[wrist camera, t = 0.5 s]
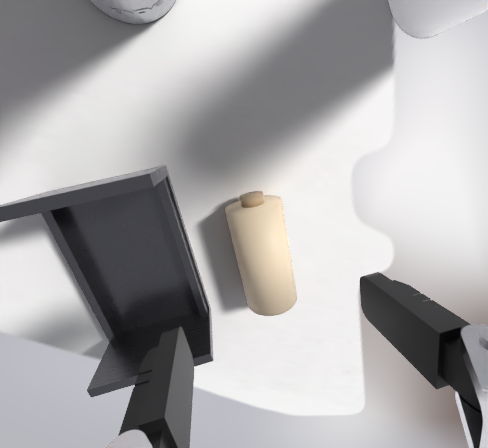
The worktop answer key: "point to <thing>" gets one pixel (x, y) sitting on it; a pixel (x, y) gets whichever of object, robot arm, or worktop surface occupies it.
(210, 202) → the worktop surface
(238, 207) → the cylinder
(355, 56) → the worktop surface
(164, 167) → the roll holder
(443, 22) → the cylinder container
